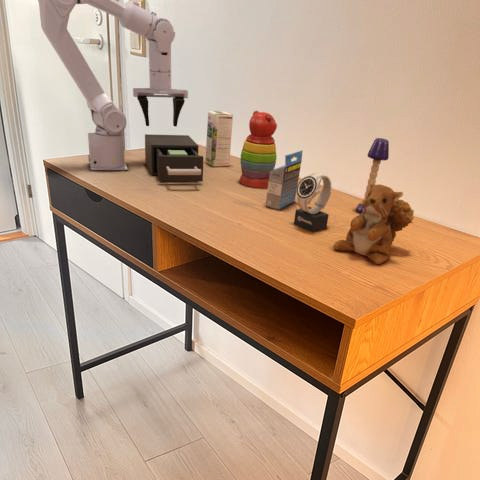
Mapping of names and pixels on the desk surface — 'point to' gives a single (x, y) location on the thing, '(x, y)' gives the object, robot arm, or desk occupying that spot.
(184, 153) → the block
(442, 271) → the desk surface
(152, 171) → the small drawer cabinet
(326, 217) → the watch
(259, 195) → the desk surface
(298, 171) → the label tape box
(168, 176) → the black drawer
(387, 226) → the stuffed squirrel
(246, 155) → the stacking bear
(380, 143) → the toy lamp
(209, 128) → the syrup box
